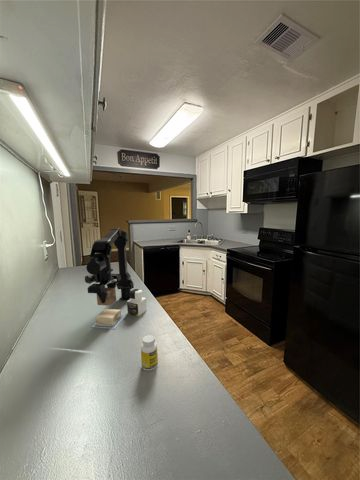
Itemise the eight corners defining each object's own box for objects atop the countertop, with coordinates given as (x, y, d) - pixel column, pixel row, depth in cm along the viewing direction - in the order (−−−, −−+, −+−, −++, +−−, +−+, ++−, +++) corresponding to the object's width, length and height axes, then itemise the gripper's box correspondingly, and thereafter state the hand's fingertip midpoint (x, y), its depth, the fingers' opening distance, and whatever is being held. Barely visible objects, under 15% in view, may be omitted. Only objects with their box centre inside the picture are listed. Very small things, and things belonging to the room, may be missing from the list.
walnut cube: (104, 299, 97) (103, 287, 97) (116, 299, 96) (115, 287, 95) (97, 304, 92) (96, 292, 91) (109, 305, 90) (108, 292, 90)
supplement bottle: (150, 373, 64) (149, 345, 63) (138, 367, 67) (136, 340, 66) (161, 362, 69) (159, 336, 67) (149, 357, 71) (147, 331, 70)
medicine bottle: (127, 314, 102) (125, 291, 101) (136, 308, 109) (135, 286, 107) (138, 317, 99) (136, 294, 97) (147, 310, 105) (145, 288, 104)
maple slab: (106, 316, 100) (105, 308, 99) (121, 317, 98) (120, 309, 98) (96, 325, 92) (96, 317, 91) (112, 326, 91) (112, 318, 90)
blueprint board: (104, 315, 102) (104, 313, 102) (126, 316, 100) (126, 315, 100) (90, 328, 91) (90, 327, 90) (114, 330, 88) (114, 329, 88)
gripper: (99, 262, 102) (102, 291, 104) (74, 273, 84) (78, 308, 86) (120, 262, 100) (122, 292, 102) (98, 274, 82) (101, 310, 84)
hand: (107, 300), depth 94 cm, fingers closed on walnut cube, 6 cm apart
